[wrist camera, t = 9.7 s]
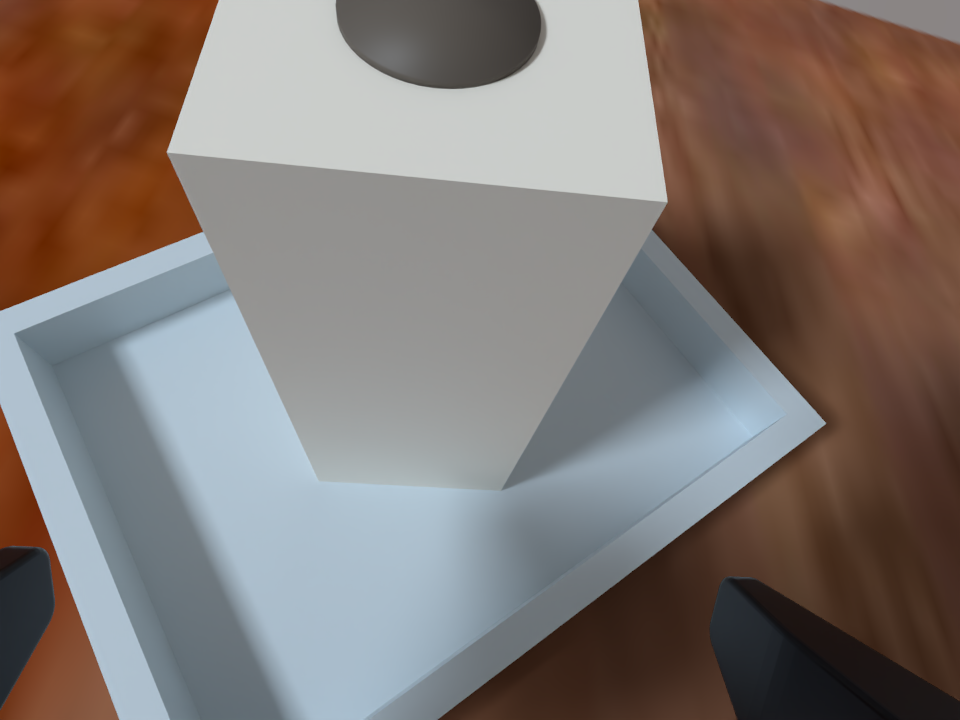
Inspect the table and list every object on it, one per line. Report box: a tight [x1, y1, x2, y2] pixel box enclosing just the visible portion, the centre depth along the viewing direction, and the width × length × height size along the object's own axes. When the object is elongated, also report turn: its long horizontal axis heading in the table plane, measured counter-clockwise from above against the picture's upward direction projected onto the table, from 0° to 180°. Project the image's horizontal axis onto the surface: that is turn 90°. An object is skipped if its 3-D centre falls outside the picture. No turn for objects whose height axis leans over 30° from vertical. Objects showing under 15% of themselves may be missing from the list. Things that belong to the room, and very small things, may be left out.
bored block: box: [167, 0, 667, 491], centre depth 13 cm, size 5×5×12 cm
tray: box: [0, 230, 826, 720], centre depth 17 cm, size 18×14×2 cm
